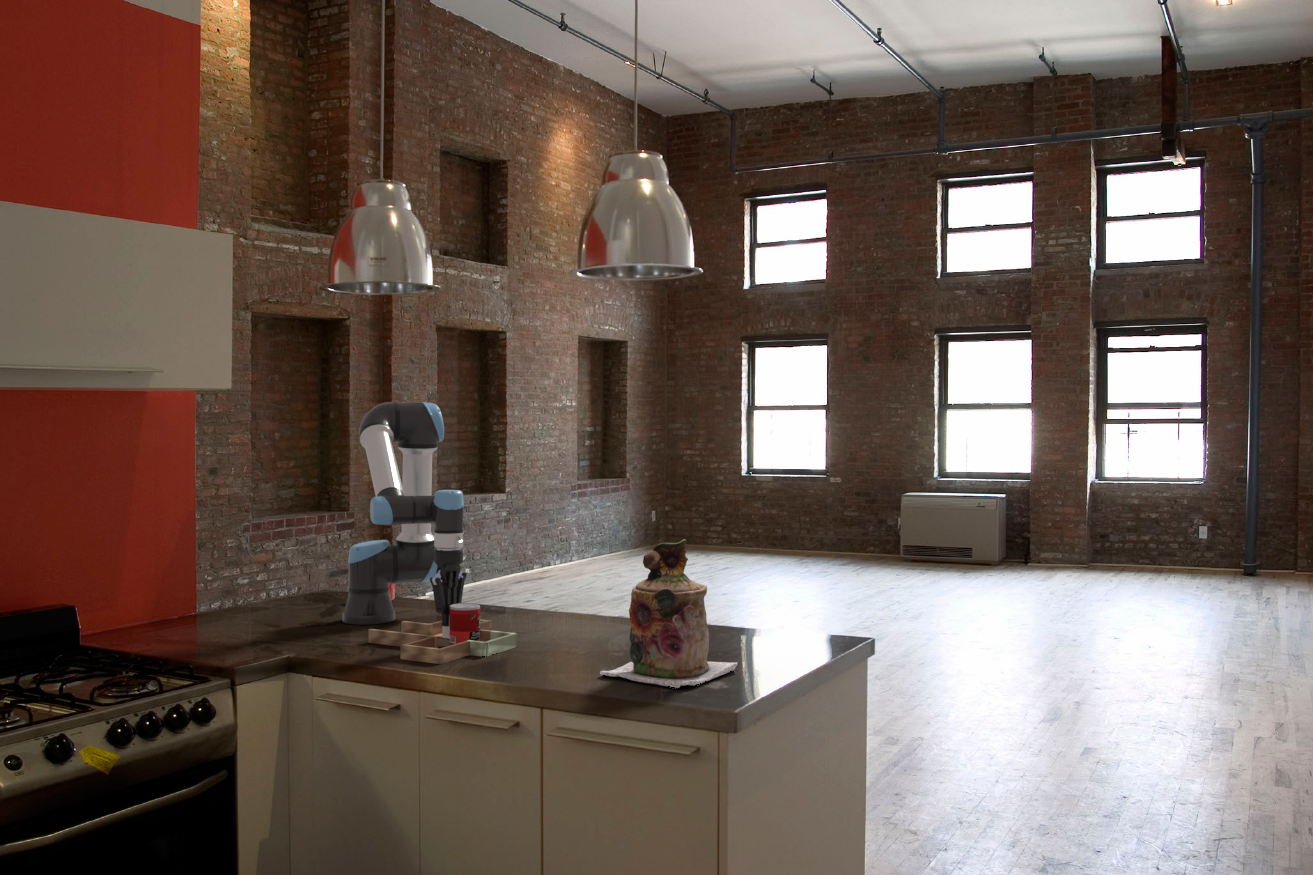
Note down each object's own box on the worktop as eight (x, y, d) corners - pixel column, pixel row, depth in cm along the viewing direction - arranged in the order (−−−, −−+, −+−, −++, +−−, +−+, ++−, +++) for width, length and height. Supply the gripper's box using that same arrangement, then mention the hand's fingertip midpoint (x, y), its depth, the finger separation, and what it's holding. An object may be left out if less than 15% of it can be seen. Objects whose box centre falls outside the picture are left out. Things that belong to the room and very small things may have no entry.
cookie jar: (655, 659, 276) (656, 531, 276) (741, 671, 263) (741, 537, 262) (595, 677, 256) (596, 540, 255) (685, 692, 242) (685, 547, 242)
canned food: (475, 650, 285) (475, 608, 284) (445, 649, 285) (445, 607, 285) (483, 644, 292) (483, 603, 292) (454, 644, 293) (454, 602, 293)
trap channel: (336, 650, 284) (336, 637, 284) (431, 626, 318) (431, 614, 318) (456, 666, 267) (456, 651, 267) (542, 638, 301) (542, 625, 301)
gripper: (444, 552, 283) (444, 643, 284) (475, 547, 295) (474, 635, 295) (421, 550, 287) (421, 640, 287) (452, 545, 298) (452, 632, 299)
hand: (448, 637), depth 291 cm, fingers closed
